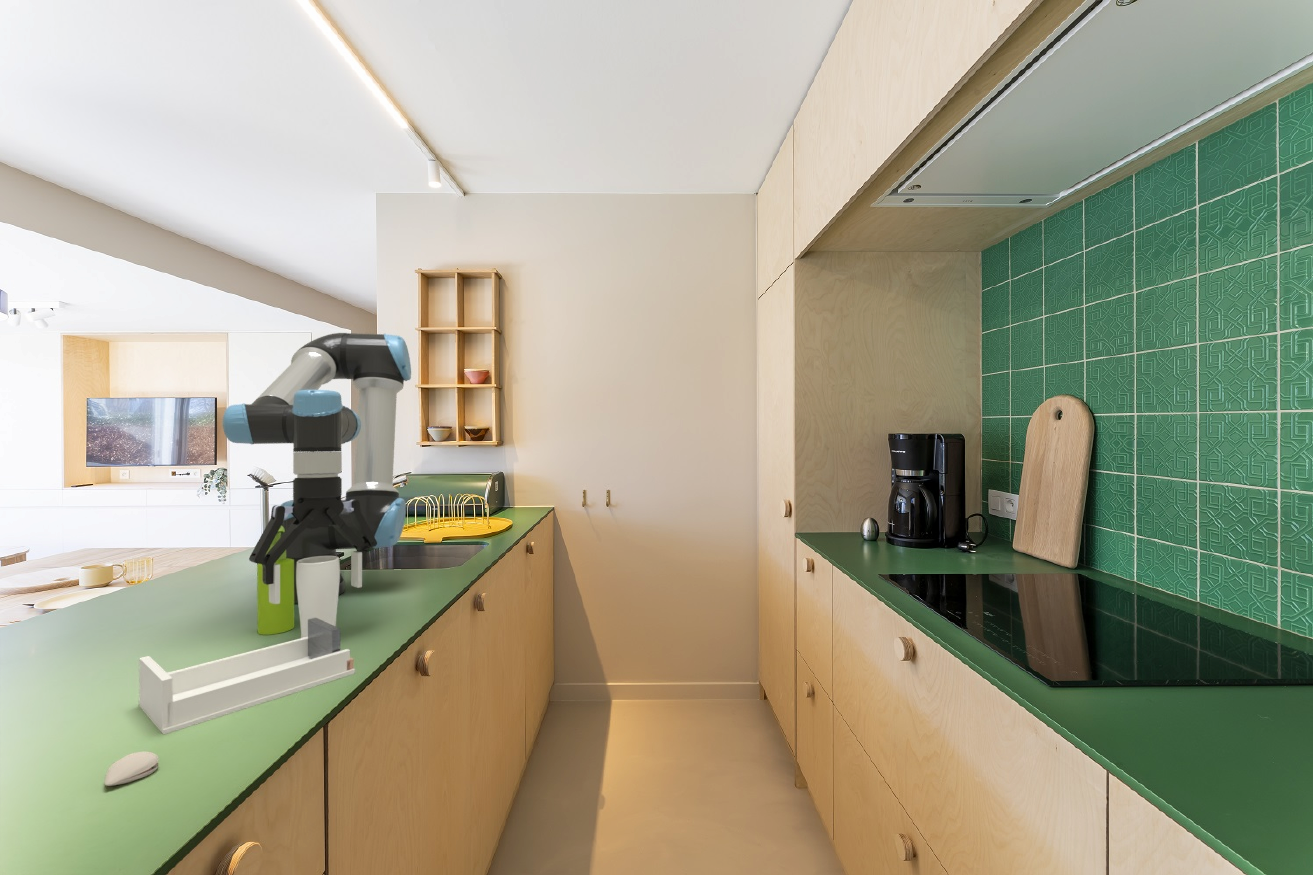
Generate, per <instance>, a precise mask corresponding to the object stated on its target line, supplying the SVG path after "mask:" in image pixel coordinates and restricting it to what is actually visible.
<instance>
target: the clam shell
mask: <svg viewBox="0 0 1313 875" xmlns="http://www.w3.org/2000/svg"><path fill="white" fill-rule="evenodd" d="M158 762H159V756H158V754H156V753H154V752H151V751H146V750H143V751H136V752H133V753H129V754H127V755H125V756H123V757H121V758H120V759H118V760H116V761H115V762H113V763H112V764H111V765H110V767H109V768H108V769H107V771H106V774H105V777H104V784H105V787H107V786H109V787H111V786H118V785H124V784H129V783H132V782H135V781H138V780H139V779H143V778H145V777H147V776H149V775H151V774H153V773H154V772H155V771H157V769H158V768H159V763H158ZM152 767H154V768H152Z"/></svg>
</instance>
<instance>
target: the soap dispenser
mask: <svg viewBox="0 0 1313 875" xmlns="http://www.w3.org/2000/svg"><path fill="white" fill-rule="evenodd" d="M281 532H285V530H284V527H283V526H281V527H280V529H279V531H278V533H277V534H276V536H275V538H274V540H273V542H272V544H271V546H270V548H269V549H268V551H267V553H268V552H269V550H270V549H271V548H272V547H273V546H274V545H275V543H276V542H277V541H278V540H279V539H280V538H281ZM267 553H266V554H267ZM275 563H276V564H279V565H280V603H279V604H273V603H271V602H269V585H266V584H264V583H263V566H262V564H257V563H256V567H257V568H256V574H257V575H256V581H257V582H256V584H257V586H256V588H257V589H256V590H257V591H256V592H257V594H256V595H257V596H256V599H257V600H256V602H257V603H256V605H257V606H256V607H257V608H256V609H257V610H256V611H257V634H258V635H264V636H265V635H268V636H269V635H277V634H283V633H285V632H289V631H290V630H293V629H294V628H295V604H294V560H293V559H289V558H286V550H285V552H284V553H283V554H282V555H281V556H280V557H279V559H278V560H277V561H276V562H275Z"/></svg>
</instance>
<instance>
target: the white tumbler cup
mask: <svg viewBox="0 0 1313 875" xmlns="http://www.w3.org/2000/svg"><path fill="white" fill-rule="evenodd" d="M340 566H341V565H340V557H339V556H337V555H336V556H316V557H309V558H304V559H301V560H298V561H297V566H296V587H297V597H298V603H297V604H298V614H299V624H300V626H299V627H300V634H301V635H300V638H304V637H308V619H312V618H318V619H320V620H322V621H324V622H327V623H329V624H331V625H333V626H336V627H337V616H338V615H337V614H338V604H339V595H338V594H339V583H340V571H341V567H340Z"/></svg>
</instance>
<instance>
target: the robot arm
mask: <svg viewBox="0 0 1313 875" xmlns="http://www.w3.org/2000/svg"><path fill="white" fill-rule="evenodd" d="M411 378H412V365H411V358H410V353H409V350H408V345H407V343H406V341H405V339H404V338H403V337H402V336H400V335H396V334H386V333H383V334H381V333H379V334H378V333H377V334H376V333H347V332H336V333H335V332H334V333H330V334H326V335H324V336H320V337H318V338H315V339H313V340H311V341H309V342H307V343H305V344H304V345H302V346H301V347H300V348H299V349H297V350H296V352H295V353H294V354H293V355H292V357H291V359H290V364H289V366H288V367H286V369H284V371H282V373H281V374H279V376H278V377H276V379H275V380H274V381H273V382H272V383H271V384H270V385H269V386H268V387H267V388H266V389H265V390H264V391H263V392H262V393H261V394H260V395H259V396H258V397H257V398H256V399H255V400H254V401H253V402H252V403H251V404H250V403H249V404H248V403H242V404H231V405H229V406H228V407H227V408H226V409H225V411H224V413H223V416H222V428H223V432H224V436H225V437H226V439H227V440H228V441H229V442H232V443H234V444H248V445H251V446H252V445H259V444H260V445H261V444H262V445H267V444H273V445H275V444H292V445H293V449H292V450H293V453H292V454H293V455H292V456H293V457H292V458H293V459H292V460H293V462H292V466H293V468H292V470H293V474H294V475H296V477H294V479H292V500H286V501H283V502H282V503H281V504H280V505H273V506H272V508H271V514H270V519H269V521H268V523H267V524H266V527H264V530H263V531H262V533H261V536H260V538H259V539H258V541H257V543H256V545H255V546H254V548H253V550H252V552H251V553H250V556H249V558H248V560H249V562H251V563H254V564H256V565H257V564H262V566H263V583H264V584H266V585H269V602H271V603H273V604H279V603H280V565H279V564H276V563H275V562H276V561H277V560H278V559H279V557H280V556H281V555H282V554H283V553H284V552H285V550H286V558H289V559H293V560H294V605H295V604H298V597H297V587H296V566H297V561H298V560H301V559H304V558H309V557H316V556H337V550H351V551H350V553H351V555H350V556H351V557H350V568H351V570H350V571H351V572H350V573H351V574H350V575H351V576H350V581H351V582H350V583H351V584H350V585H351V586H350V587H354V588H357V589H359V588H362V587H363V569H366V567H367V565H368V564H367V562H368V561H367V559H368V558H367V555H368V554H367V552H369V551H370V549H379V548H388V547H392V546H395V545H396V544H397V543H398V542H399V540H400V538H401V536H402V534H403V530H404V526H405V522H406V521H405V520H406V513H407V510H406V507H407V504H406V501H405V499H404V498H401V497H400V491H399V490H398V489H397V488H396V487H394V484H393V483H394V482H393V480H394V479H393V478H394V458H395V439H396V436H395V435H396V415H397V412H396V411H397V395H398V393H400V391H402V390H403V389H404V382H407V381H410V380H411ZM333 380H352V386H354V387H355V388H356V389H357V391H358V404H357V405H358V408H357V412H355V411H354V410H352V409H351V408H349V407H347V406H345V405H343V402H342V394H341V393H340V392H338V391H335V390H329V389H328V390H327V389H320V388H321V386H322V385H326V384H328V383H330V382H331V381H333ZM354 439H356V440H355V441H356V442H355V457H354V473H353V474H354V475H353V485H352V486H351V487H350V488H348V489H347V490H346V491H345V499H342V496H343V495H342V494H343V493H342V492H343V490H342V485H343V484H342V479H343V478H342V477H341V476H339V474H341V473H342V470H343V469H342V465H343V464H342V459H343V458H342V457H343V456H342V455H343V454H342V453H343V452H342V445H344V444H346V443H350V442H352V441H353V440H354ZM281 526H283V527H284V530H285V532H281V538H280V539H279V540H278V541H277V542H276V543H275V545H274V546H273V547H272V548H271V549H270V550H269V552H268V553H267V551H268V549H269V548H270V546H271V544H272V542H273V540H274V538H275V536H276V534H277V533H278V531H279V529H280V527H281ZM266 553H267V554H266ZM345 584H346V583H345V580H344V577H343V573H342V572H341V570H340V583H339V594H338V596H339V595H341V594H344V593H345Z"/></svg>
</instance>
